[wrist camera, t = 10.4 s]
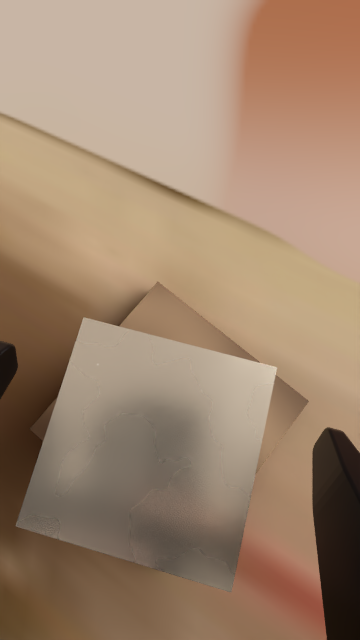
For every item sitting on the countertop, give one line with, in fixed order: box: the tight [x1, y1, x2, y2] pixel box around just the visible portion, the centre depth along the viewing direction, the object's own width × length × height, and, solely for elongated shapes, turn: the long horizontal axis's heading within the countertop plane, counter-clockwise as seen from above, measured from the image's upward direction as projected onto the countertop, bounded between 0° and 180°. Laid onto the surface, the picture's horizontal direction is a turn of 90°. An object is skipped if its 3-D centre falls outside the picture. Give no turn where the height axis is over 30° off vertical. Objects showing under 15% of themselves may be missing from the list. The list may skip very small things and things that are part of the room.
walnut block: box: [30, 282, 309, 474], centre depth 21 cm, size 12×12×2 cm
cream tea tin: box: [16, 317, 277, 592], centre depth 15 cm, size 6×6×11 cm
